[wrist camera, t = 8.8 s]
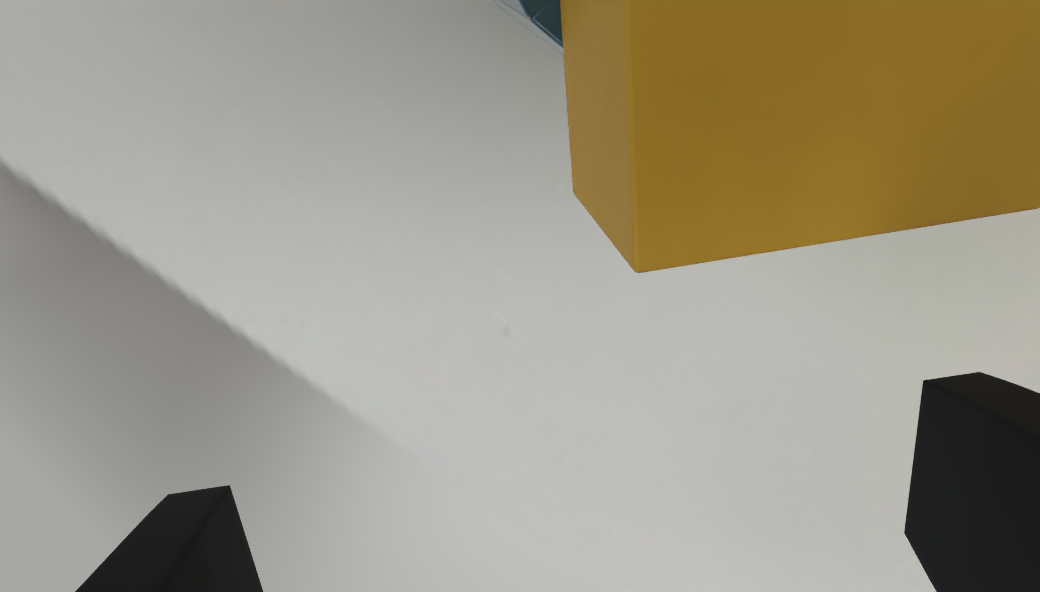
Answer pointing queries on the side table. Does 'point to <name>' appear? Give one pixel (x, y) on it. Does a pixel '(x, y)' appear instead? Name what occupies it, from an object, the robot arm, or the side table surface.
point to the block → (797, 120)
